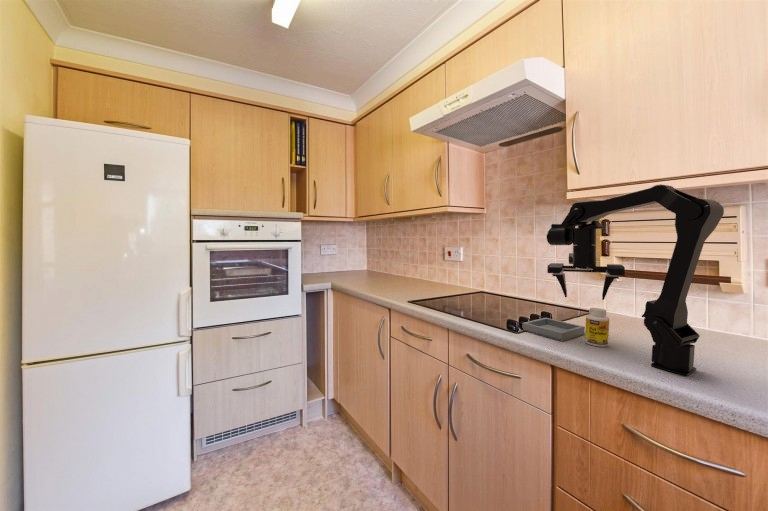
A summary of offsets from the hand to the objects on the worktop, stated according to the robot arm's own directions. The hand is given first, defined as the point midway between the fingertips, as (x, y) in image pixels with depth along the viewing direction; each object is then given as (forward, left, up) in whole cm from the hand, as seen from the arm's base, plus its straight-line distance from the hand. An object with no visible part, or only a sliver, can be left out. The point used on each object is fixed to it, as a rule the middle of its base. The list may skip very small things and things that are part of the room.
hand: (584, 298), depth 93 cm
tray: (+10, -1, -13) cm, 16 cm away
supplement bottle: (-3, -1, -13) cm, 14 cm away
